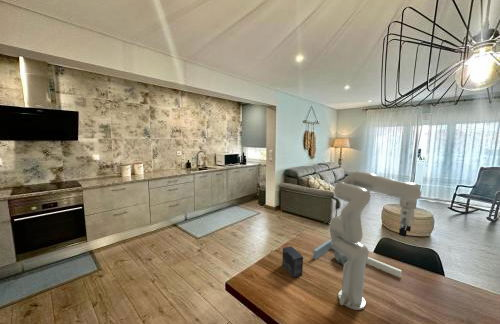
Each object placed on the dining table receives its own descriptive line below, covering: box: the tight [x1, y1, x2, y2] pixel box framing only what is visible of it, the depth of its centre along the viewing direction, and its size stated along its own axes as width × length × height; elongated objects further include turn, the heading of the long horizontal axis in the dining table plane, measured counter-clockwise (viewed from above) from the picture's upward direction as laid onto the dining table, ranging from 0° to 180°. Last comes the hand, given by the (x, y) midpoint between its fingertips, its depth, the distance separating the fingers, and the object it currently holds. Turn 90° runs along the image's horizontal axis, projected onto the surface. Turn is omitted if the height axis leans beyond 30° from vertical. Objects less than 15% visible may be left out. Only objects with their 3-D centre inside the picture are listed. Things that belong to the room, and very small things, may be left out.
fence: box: [312, 238, 403, 278], centre depth 135 cm, size 23×45×6 cm, turn 42°
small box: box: [281, 245, 304, 278], centre depth 131 cm, size 13×7×12 cm, turn 22°
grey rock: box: [333, 249, 348, 266], centre depth 140 cm, size 14×10×10 cm
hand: (404, 233), depth 120 cm, fingers open, 9 cm apart
